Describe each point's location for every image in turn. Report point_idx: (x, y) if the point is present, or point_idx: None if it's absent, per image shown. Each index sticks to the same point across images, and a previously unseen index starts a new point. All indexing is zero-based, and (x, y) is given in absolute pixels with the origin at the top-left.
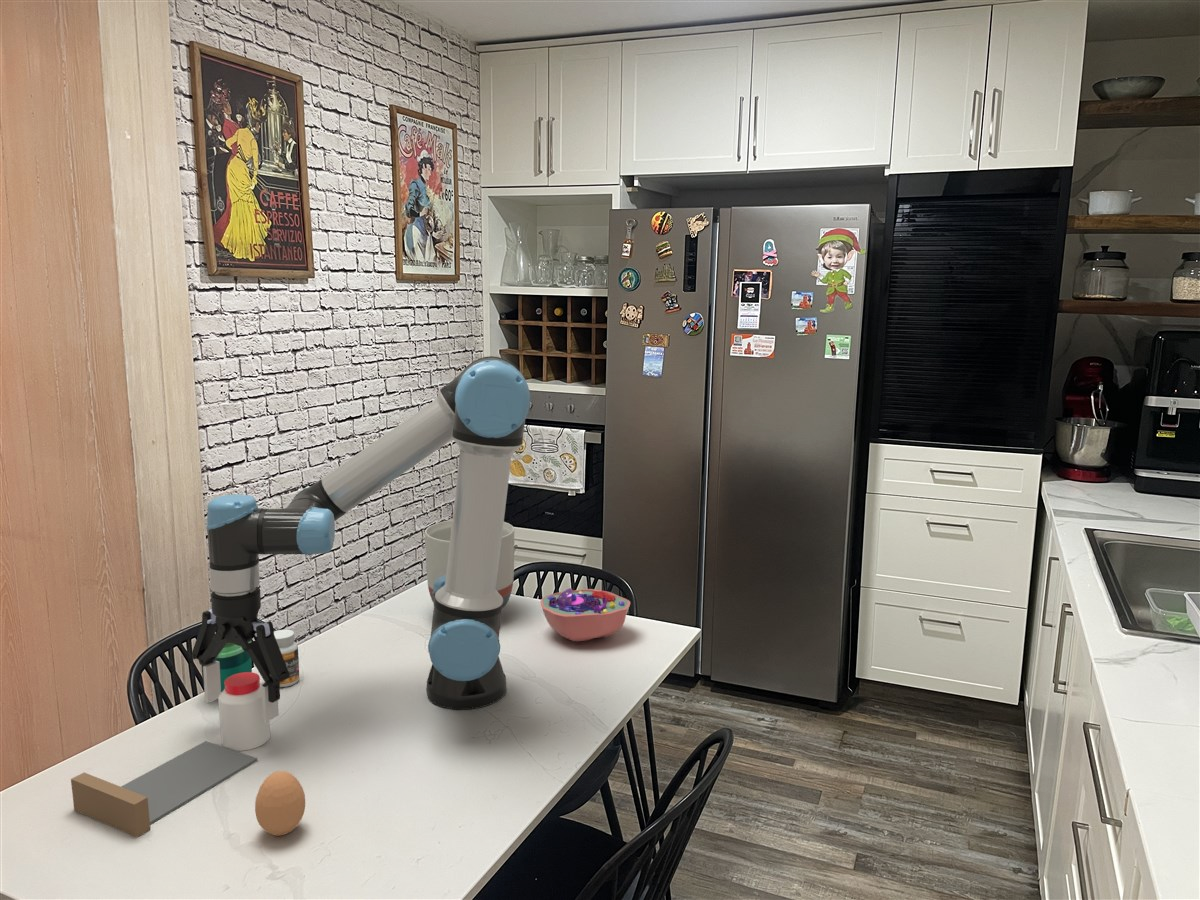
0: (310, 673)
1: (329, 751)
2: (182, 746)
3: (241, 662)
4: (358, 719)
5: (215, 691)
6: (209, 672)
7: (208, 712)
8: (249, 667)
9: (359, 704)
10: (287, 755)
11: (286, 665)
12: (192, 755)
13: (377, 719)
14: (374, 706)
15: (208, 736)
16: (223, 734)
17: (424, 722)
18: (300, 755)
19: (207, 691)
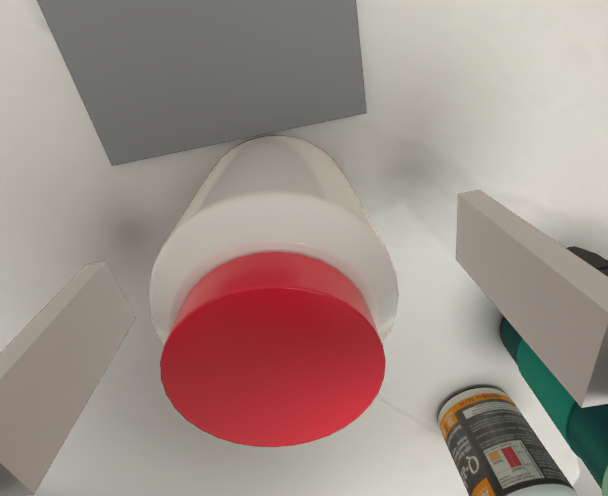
0: (449, 453)
1: (35, 316)
2: (418, 38)
3: (575, 424)
4: (157, 421)
5: (476, 253)
6: (561, 301)
7: (531, 224)
8: (548, 414)
9: (225, 449)
10: (87, 238)
11: (469, 464)
12: (307, 13)
13: (126, 441)
14: (191, 460)
15: (399, 143)
16: (277, 146)
17: (43, 481)
18: (62, 260)
19: (488, 218)
